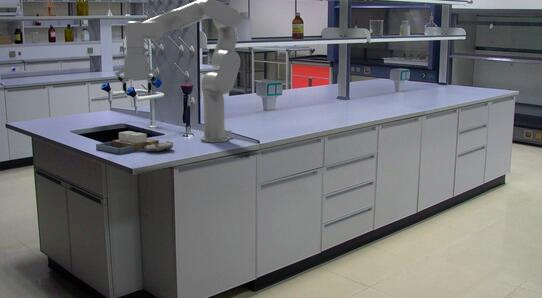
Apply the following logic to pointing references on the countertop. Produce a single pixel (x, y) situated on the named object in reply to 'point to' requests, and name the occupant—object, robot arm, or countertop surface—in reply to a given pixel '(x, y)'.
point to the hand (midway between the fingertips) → (137, 92)
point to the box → (113, 148)
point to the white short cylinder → (125, 135)
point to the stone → (159, 146)
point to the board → (134, 144)
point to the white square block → (137, 137)
